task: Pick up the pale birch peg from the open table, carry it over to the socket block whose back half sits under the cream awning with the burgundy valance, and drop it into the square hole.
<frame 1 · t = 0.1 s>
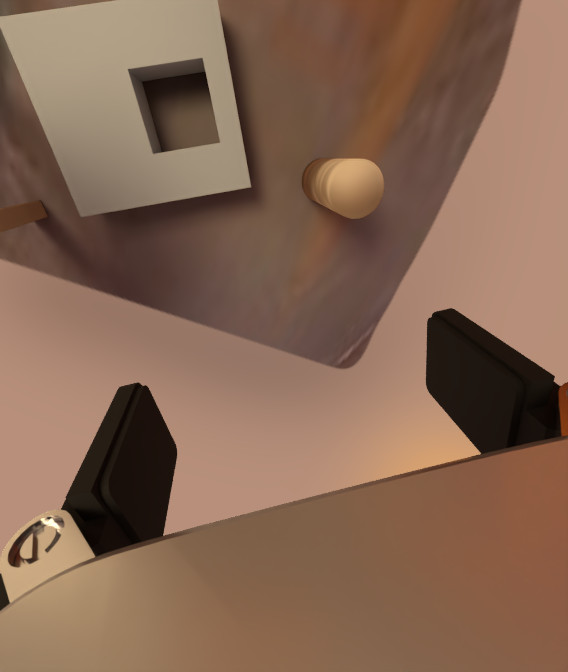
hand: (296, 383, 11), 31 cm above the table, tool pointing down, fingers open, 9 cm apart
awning: (47, 136, 32), on the table
socket block: (152, 119, 33), on the table
peg: (321, 180, 37), on the table
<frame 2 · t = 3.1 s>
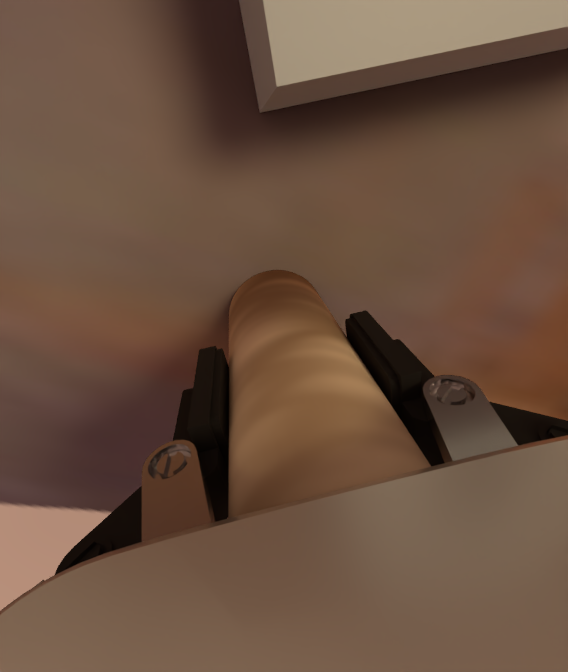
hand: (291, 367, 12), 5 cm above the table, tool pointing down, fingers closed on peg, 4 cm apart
peg: (276, 315, 16), on the table, touching gripper
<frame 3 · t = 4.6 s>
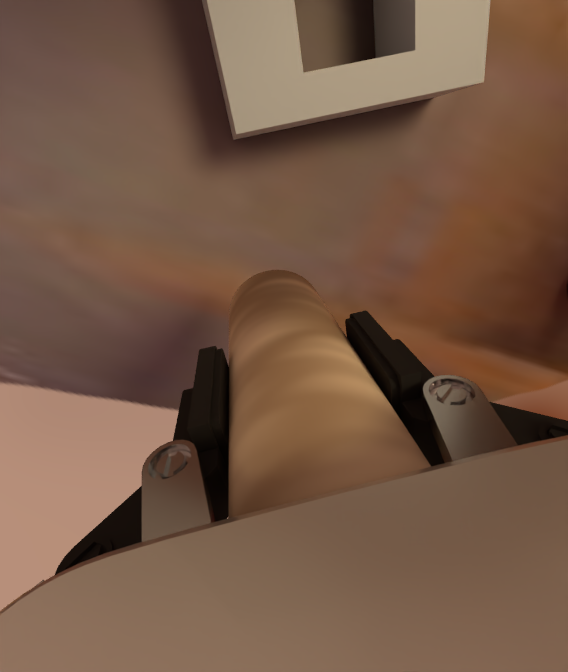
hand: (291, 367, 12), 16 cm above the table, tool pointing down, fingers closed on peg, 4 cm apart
peg: (275, 315, 16), point 11 cm above the table, touching gripper
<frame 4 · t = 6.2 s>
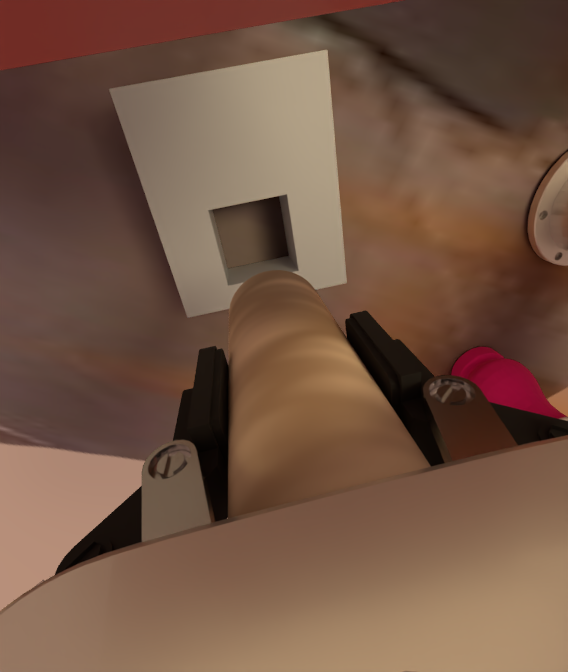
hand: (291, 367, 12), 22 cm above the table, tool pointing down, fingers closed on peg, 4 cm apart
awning: (213, 51, 25), on the table
pepper mill: (472, 366, 43), on the table
socket block: (244, 195, 29), on the table
peg: (275, 315, 16), point 17 cm above the table, touching gripper
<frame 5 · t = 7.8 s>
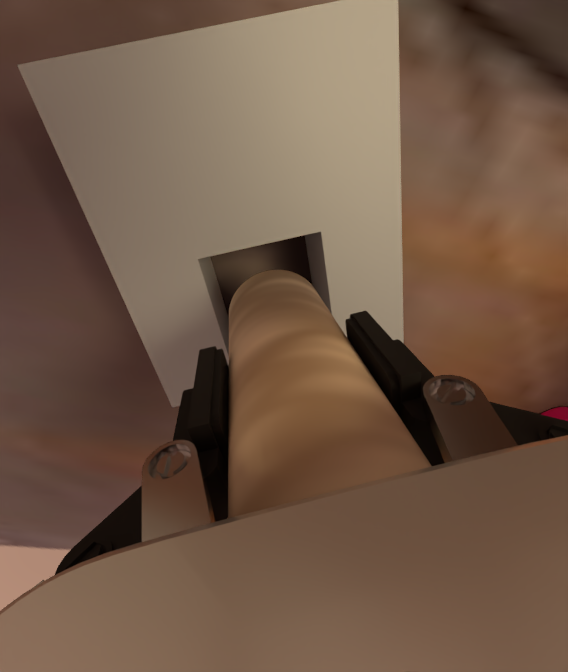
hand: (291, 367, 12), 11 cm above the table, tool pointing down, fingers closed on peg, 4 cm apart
pepper mill: (546, 429, 33), on the table
socket block: (253, 226, 20), on the table
peg: (275, 315, 16), point 7 cm above the table, touching gripper
when the fingers open (6 cm above the table, at t = 9.2 s): peg drops 1 cm, resting in socket block.
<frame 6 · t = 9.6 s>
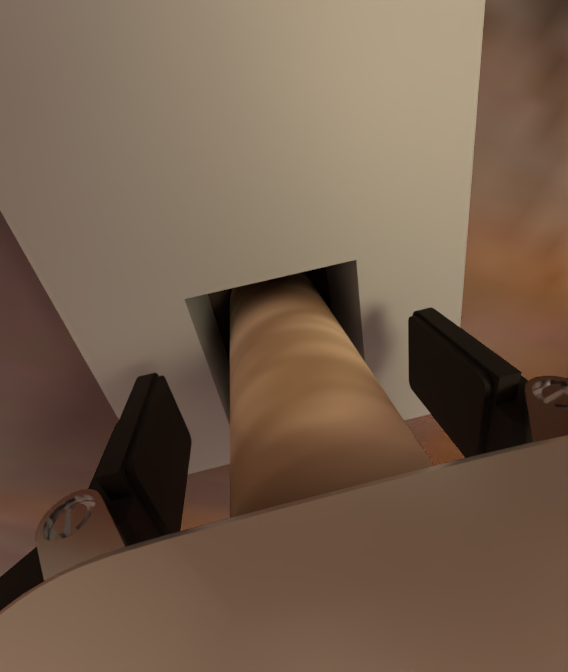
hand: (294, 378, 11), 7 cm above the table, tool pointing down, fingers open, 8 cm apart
socket block: (259, 246, 16), on the table
peg: (273, 303, 17), resting in socket block
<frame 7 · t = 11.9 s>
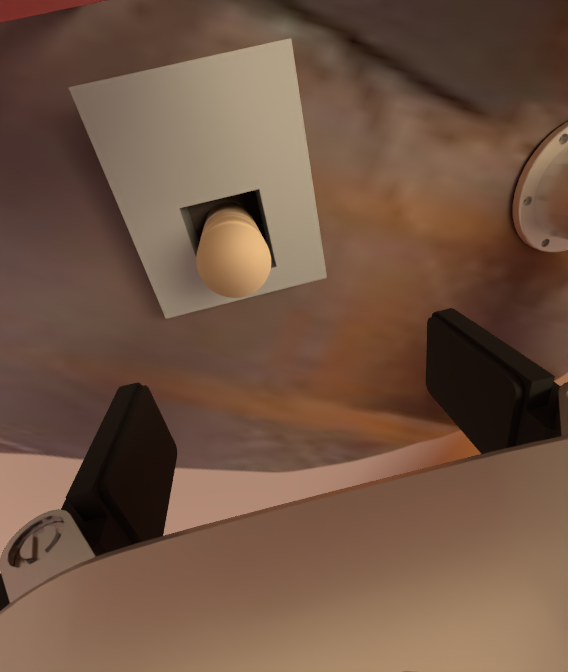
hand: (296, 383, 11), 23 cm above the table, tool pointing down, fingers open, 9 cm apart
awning: (179, 45, 24), on the table
socket block: (219, 192, 29), on the table
peg: (230, 227, 30), resting in socket block
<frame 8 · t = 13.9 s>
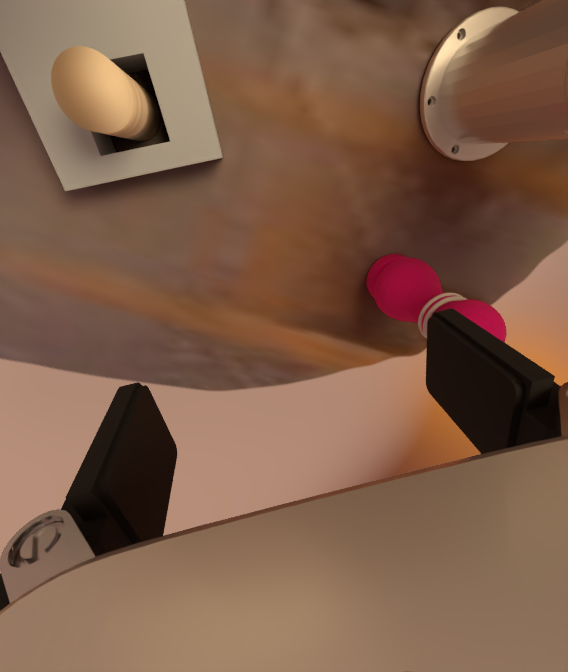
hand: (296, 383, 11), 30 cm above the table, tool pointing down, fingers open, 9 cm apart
pepper mill: (388, 277, 43), on the table
socket block: (122, 74, 30), on the table
peg: (136, 113, 32), resting in socket block
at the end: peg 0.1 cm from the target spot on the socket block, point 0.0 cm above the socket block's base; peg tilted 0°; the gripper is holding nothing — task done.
